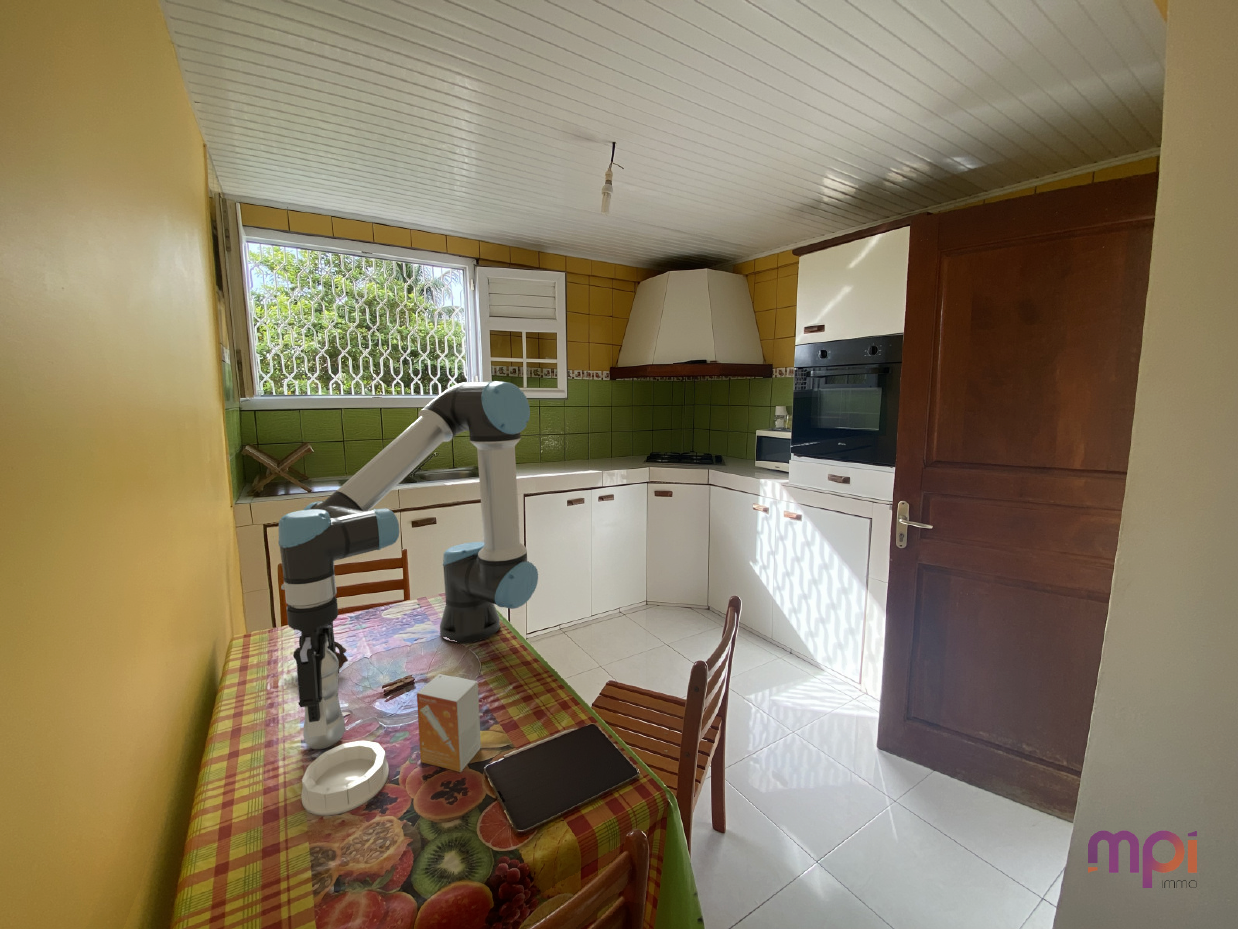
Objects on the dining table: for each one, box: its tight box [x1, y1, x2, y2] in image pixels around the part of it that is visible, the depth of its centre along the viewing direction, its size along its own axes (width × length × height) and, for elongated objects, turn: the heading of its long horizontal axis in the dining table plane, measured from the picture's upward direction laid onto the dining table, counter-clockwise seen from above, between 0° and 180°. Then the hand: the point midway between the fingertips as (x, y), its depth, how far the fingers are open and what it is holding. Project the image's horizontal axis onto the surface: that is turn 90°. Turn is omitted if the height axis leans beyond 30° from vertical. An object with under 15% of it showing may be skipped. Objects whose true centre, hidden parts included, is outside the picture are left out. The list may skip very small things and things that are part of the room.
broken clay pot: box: [292, 641, 349, 670], centre depth 114 cm, size 12×10×8 cm
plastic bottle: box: [296, 638, 346, 750], centre depth 90 cm, size 6×7×20 cm
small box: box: [416, 673, 482, 773], centre depth 87 cm, size 8×6×13 cm
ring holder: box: [300, 739, 390, 817], centre depth 82 cm, size 12×12×3 cm
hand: (323, 722), depth 91 cm, fingers closed on plastic bottle, 6 cm apart
